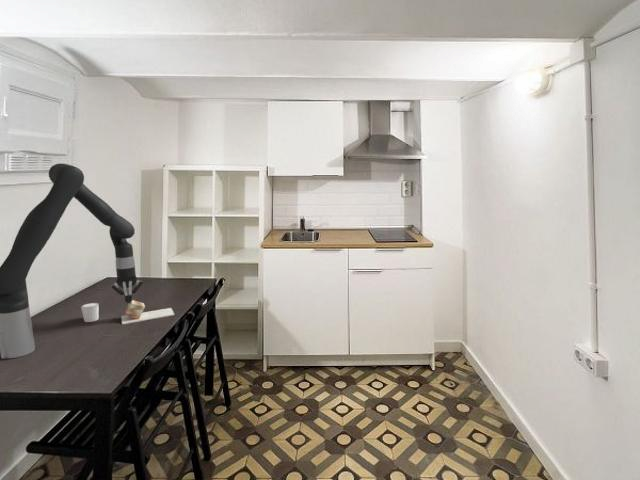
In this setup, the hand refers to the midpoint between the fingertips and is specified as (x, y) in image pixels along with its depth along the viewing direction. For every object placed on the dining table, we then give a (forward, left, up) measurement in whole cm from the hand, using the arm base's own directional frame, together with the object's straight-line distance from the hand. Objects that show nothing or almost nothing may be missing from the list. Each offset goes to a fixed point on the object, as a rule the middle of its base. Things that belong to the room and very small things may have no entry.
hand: (128, 302), depth 161 cm
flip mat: (+7, 0, -8) cm, 11 cm away
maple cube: (+1, 0, -6) cm, 6 cm away
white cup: (-16, +9, -8) cm, 20 cm away
